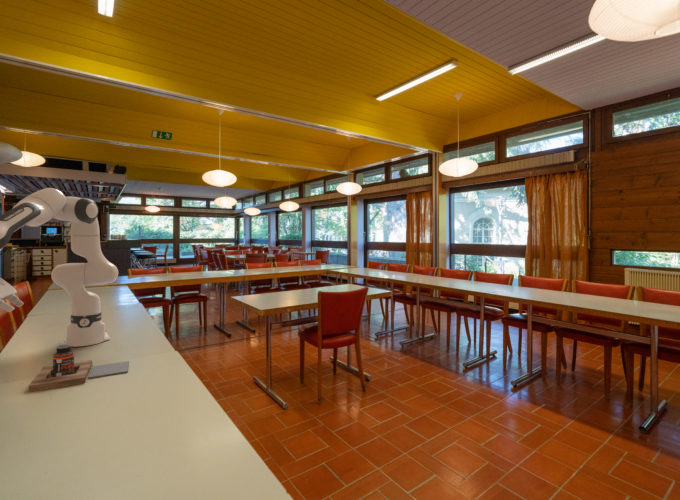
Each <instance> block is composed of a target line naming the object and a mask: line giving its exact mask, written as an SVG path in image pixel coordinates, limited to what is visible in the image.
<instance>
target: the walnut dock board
mask: <svg viewBox="0 0 680 500" xmlns="http://www.w3.org/2000/svg"><path fill="white" fill-rule="evenodd" d="M92 367H93V359H92V360H82V361H78V362H77V361H76V362H75V361H74V374H70V375H64V376H57V377H53V365H49V366H48V365H46V366H43V367H42V368H41V369H40V370H39V372H38V373H37V375H36V376H35V377H34V378H33V380H32V381H31V382H30V383H29V385H28V392H29V393H31V392H35V391H42V390H43V391H44V390H49V389H54V388H55V389H56V388H59V387H60V388H61V387H66V386H73V385H79V384H85V383H86V381H87V379H88V377H89V375H90V372H91V370H92ZM51 376H52V377H51Z"/></svg>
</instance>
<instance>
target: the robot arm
mask: <svg viewBox="0 0 680 500" xmlns="http://www.w3.org/2000/svg"><path fill="white" fill-rule="evenodd" d="M98 215H99V207H98V205H97V203H96V201H94V200H93V199H90V198H86V197H78V196H69V195H68V196H65V194H64V193H63V192H62V191H61V190H59V189H57V188H53V187H45V188H43V189H40V190H37V191H35V192H33V193H31V194H29V195H27V196H26V197H24V198H22V199H21V200H19V201H18V202H17V203H16V204H15V205H14V206H13V207H12V208H11V209H9V210H8V211H6V212H4V213H2V214H1V215H0V252H1V251H2V250H3V249H4V247H6V246H7V245H8V243H9V242H10V240H11V238H12V235H13V233H15V232H16V231H18V230H20V229H22V228H23V227H24V226H27V227H33V228H37V227H40V226H41V225H44V224H45V223H47V222H49V221H51V220H54V221H56V220H57V221H63V222H70V249H71V252H73V254H75V255H77V256H80V257H82V258H85V259H86V261H87V262H69V263H68V262H67V263H62V264H57V265H56V266H55V267H54V268H53V269H52V271H51V275H50V276H51V281H52V282H53V283H54V284H55V285H57V286H59V287H61V288H62V289H63V290H64V291H65V292H66V293H67V294H68V297H69V299H70V303H71V305H70V306H71V315H70V324H69V325H68V326H66V333H65V335H66V337H65V340H64V341H63V342H61V345H60V346H64V345H70V346H71V347H85V346H86V347H87V346H92V345H97V344H100V343H103V342H106V341H109V340H111V337H110V335H109V334H108V332H107V330H106V324H105V323H104V322H103V321H102V317H103V315H102V312H101V297H100V296H99V295H98V294H97V293H95V292H93V291H89V290H87V289H86V286H100V285H101V286H102V285H107V284H112V283H114V282H115V281H116V280H117V279H118V277H119V269H118V267H117V266H116V265H115V264H114V263H112V262H110V261H109V260H108V259H107V258H106V257H105V255H104V253H103V252H102V248H101V238H100V237H101V235H100V233H101V232H100V224H99V220H98ZM17 293H18V291H17V290H16V288H15V287H14V286H12V285H11V283H9V282H8V281H6V280H5V279H3V278H2V277H0V309H1V310H4V311H6V312H7V313H10V312H12V311H14V310H15V309H16V307H17V308H20V307H22V306H23V305H24V303H25V302H23V301H22V300H21V299H19V297H18V296H17V295H16V294H17ZM6 300H7V301H8V302H11V303H12V304H13V305H12V304H8V303H7V302H5V301H6Z"/></svg>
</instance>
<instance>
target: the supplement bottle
mask: <svg viewBox="0 0 680 500" xmlns="http://www.w3.org/2000/svg"><path fill="white" fill-rule="evenodd" d="M74 363H75V352H74V351H73V350H72V346H70V345H59V346H57V347H56V352H55V353H54V354H53V355H52V366H53V375H52V377H57V376H64V375H70V374H75V372H74Z"/></svg>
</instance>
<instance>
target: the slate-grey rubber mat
mask: <svg viewBox="0 0 680 500" xmlns="http://www.w3.org/2000/svg"><path fill="white" fill-rule="evenodd" d="M129 366H130V360H126V361H119V362H113V363H106V364H100V365H99V364H97V365H92V367H91V369H90V372H89V374H88V377H87V379H88V380H89V379H90V380H91V379H95V378H96V379H97V378H101V377H102V378H103V377H109V376H115V375H120V374H127V373H129Z"/></svg>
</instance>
